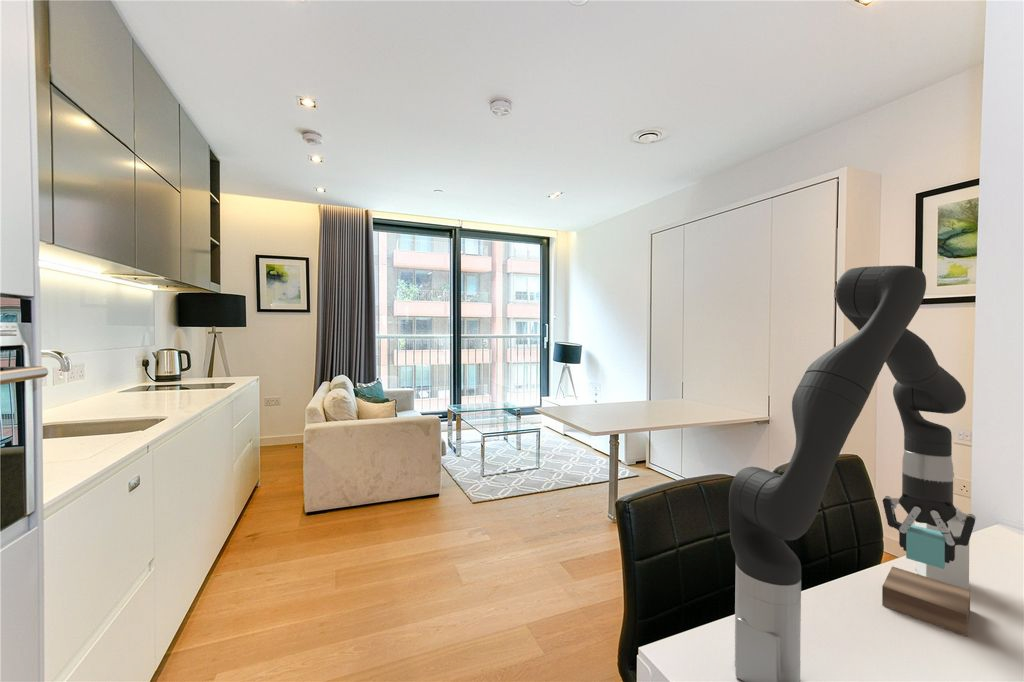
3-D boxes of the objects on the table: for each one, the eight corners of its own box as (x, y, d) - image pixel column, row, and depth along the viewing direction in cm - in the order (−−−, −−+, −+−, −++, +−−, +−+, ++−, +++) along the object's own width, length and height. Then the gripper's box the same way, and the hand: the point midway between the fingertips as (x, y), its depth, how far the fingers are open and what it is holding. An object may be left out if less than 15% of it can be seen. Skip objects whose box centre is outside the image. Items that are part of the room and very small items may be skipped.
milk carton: (926, 583, 96) (926, 500, 96) (914, 568, 102) (914, 490, 102) (969, 592, 93) (970, 506, 93) (954, 576, 99) (955, 495, 99)
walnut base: (966, 636, 79) (967, 614, 79) (882, 605, 88) (882, 586, 88) (969, 609, 86) (970, 590, 86) (892, 583, 96) (892, 566, 96)
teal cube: (944, 569, 83) (944, 541, 83) (906, 558, 87) (906, 531, 87) (946, 559, 87) (946, 533, 87) (909, 549, 91) (910, 524, 91)
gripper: (878, 469, 90) (877, 548, 90) (978, 487, 79) (977, 577, 79) (884, 463, 95) (883, 537, 95) (979, 479, 84) (978, 563, 84)
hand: (926, 555), depth 87 cm, fingers closed on teal cube, 5 cm apart
